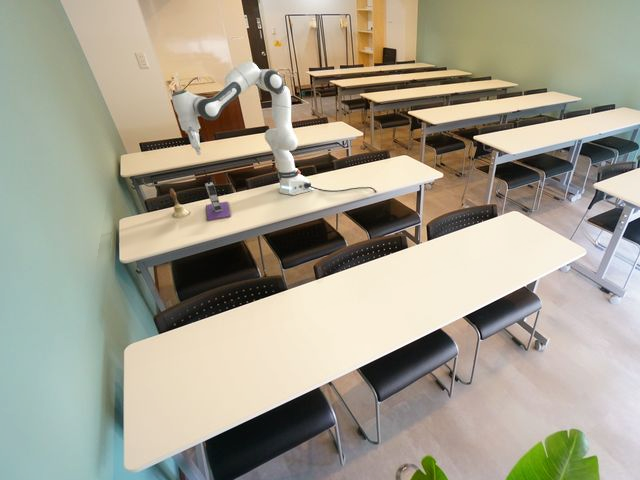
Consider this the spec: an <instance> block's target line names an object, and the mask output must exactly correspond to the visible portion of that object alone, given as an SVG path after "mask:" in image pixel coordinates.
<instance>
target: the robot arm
mask: <svg viewBox="0 0 640 480" xmlns="http://www.w3.org/2000/svg"><path fill="white" fill-rule="evenodd" d="M224 83H225V86H224V87H223V88H222V89H221V90H220V91H219V92H218V93H216V94H215V95H214V96H212V97H209V98H208V97H206V96H203V95H199V94H198V95H197V94H195V93H192V92H190V91H188V90H185V89H181V90H177V91H174V92H173V93H172V94H171V101H172V104H173V108H174V111H175V113H176V114H177V117H178V118H177V119H178V122H179V125H180V128H181V130H182V131H184V132H185V134H187V136H188V139H189V143H190V146H191V148H192V149H194V150H195V152H196V155H197V156H201V155H202V153H201V144H200V143H201V142H200V134H199V132H200V130H201V125H200V121H199V119H198V117H201V118H203V119H204V120H207V121H216V120H217V119H219V117H220V115H221V113H222V112H223V110H224V109H225V108H226V107H227V106H228V105H229V104H230V103H231V102H233V101H234V100H235V99H236V98H237V97H239V96H240V95H241V94H243V93H245V92H247V90H249V89H250V88H251V87H253V86H254V85H255V86H256V87H257V88H258V89H259V90H262V91H265V92H269V93H270V96H271V119H272V121H273V122H274V125H275V128H269V129H267V130H266V131H265V133H264V140H265V142H266V143H267V144H268V146H269V148H270V150H271V152H272V154H273V156H274V159H275V163H276V164H275V165H276V168H277V171H276V172H277V178H278V180H279V193H281V194H284V195H290V196H295V195H300V194H304V193H308V192H311V191H314V190H316V191H317V190H318V191H320V192H321V191H322V192H327V193H338V192H347V191H351V190H359V189H360V190H361V189H363V190H364V189H365V190H366V189H371V190H373V191H374V193H377V190H376V189H375V188H373V187H371V186H360V187H359V186H358V187H351V188H346V189H337V190H330V189H322V188H319V187H315V186H314V185H313V184H312V183H311V182H310V181H309V179H308V178H307V177H306V176H304V175H302V174H301V173H302V172H301V171H300V170H299V169H298V168H296V165H295V159H294V156H293V155H292V153H291V152H292V151H295V150H296V149H297V148H298V145H299V140H298V138H297V136H296V134H295V132H294V128H293V123H292V96H291V91H290V89H289V88H288V87H287V86H286V85H285V82H284V79H283V77H282V75H281V74H280V73H279V72H278V71H276V70H274V69H270V68H269V69H268V68H265V69H264V68H263V69H262V68H259V67H258V66H257V64H256V63H254V62H253V61H250V60H249V61H245V62H243V63H241V64H238V65H237V66H235V67H234V68H233V69H231V70H230V71H228V73H227V74H226V75H225V77H224Z"/></svg>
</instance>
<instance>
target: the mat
mask: <svg viewBox="0 0 640 480" xmlns="http://www.w3.org/2000/svg"><path fill="white" fill-rule="evenodd" d="M219 203H220V206H221V208H222V211H220V212H215V211H214V209H213V206H212V203H210V204H206V215H207V221H215V220H219V219H220V220H221V219H225V218H231V213H230V208H229V204H228V201H222V202H219Z"/></svg>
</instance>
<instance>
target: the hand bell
mask: <svg viewBox="0 0 640 480" xmlns="http://www.w3.org/2000/svg"><path fill="white" fill-rule="evenodd" d="M169 195H170V197H171V198H172V200H173V201H174V204H175V205H174V206H173V210H174V212H173V214H172V216H173V217H175V218H182V217H185V216H187V215H188V214H189V212H190V211H189V210H186V208H185V207H184V206H183V204H181V203H179V201H178V198H177V194H176V192H175V190H174V188H169Z"/></svg>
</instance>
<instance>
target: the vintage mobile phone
mask: <svg viewBox="0 0 640 480" xmlns="http://www.w3.org/2000/svg"><path fill="white" fill-rule="evenodd" d="M203 171H204V172H203V173H204V174H205V178H206V183H204V185H205V189H206V191H207V195H208V197H209V200H210V204H212V206H213V209H214V211H215V212H220V211H222V208H221V206H220V203H221V202H220V200H219V197H218V194H217V190H216V187H215V184H214V183H213V182H212V181H211V182H210V179H209V176H208V174H207V170H206V169H204V170H203Z"/></svg>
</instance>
